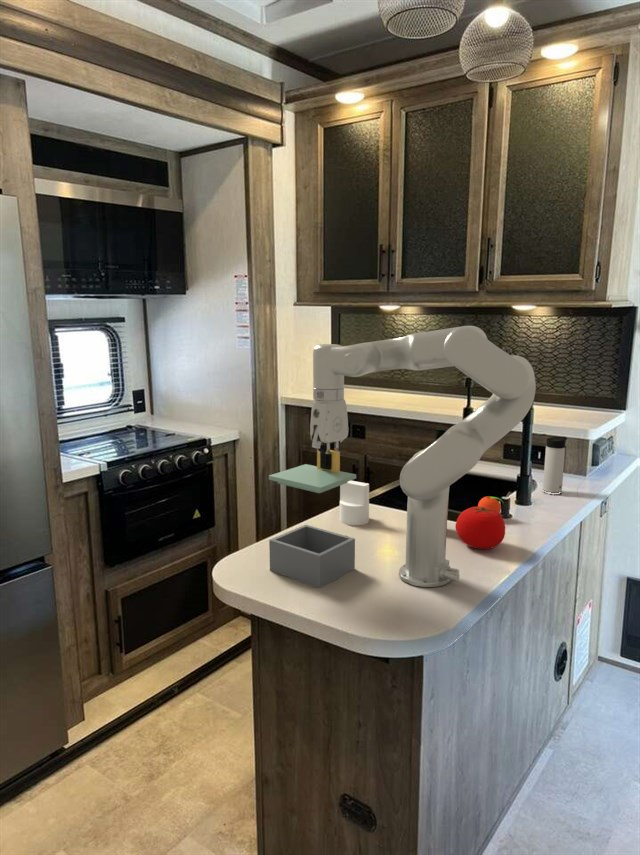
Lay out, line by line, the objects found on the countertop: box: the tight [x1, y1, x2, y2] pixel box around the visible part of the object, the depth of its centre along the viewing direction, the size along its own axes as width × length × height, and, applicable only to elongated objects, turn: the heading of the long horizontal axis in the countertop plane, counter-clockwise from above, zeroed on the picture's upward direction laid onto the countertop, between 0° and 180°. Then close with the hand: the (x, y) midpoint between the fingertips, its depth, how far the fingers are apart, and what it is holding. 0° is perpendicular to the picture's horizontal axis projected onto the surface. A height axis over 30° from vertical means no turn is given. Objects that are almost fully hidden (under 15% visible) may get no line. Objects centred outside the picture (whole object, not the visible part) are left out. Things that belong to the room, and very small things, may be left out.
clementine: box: [477, 495, 505, 514], centre depth 192 cm, size 8×7×7 cm
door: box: [268, 448, 357, 494], centre depth 150 cm, size 16×14×7 cm
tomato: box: [455, 506, 506, 550], centre depth 169 cm, size 12×13×11 cm
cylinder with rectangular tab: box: [339, 480, 370, 526], centre depth 189 cm, size 9×9×12 cm
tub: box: [268, 524, 356, 589], centre depth 154 cm, size 16×14×8 cm
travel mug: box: [542, 436, 568, 493], centre depth 216 cm, size 6×7×20 cm
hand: (328, 467), depth 155 cm, fingers closed on door, 1 cm apart
